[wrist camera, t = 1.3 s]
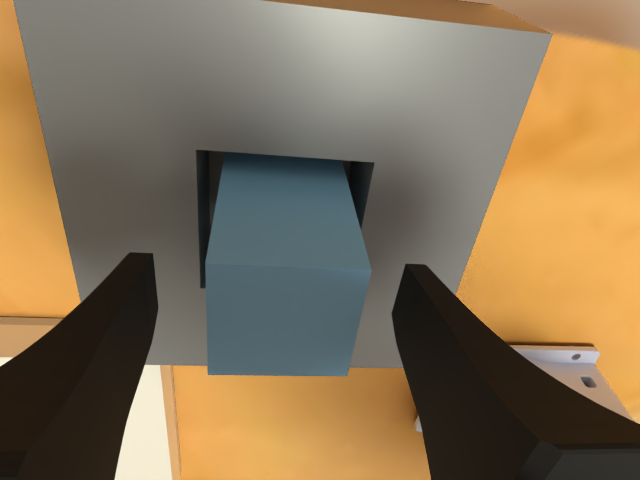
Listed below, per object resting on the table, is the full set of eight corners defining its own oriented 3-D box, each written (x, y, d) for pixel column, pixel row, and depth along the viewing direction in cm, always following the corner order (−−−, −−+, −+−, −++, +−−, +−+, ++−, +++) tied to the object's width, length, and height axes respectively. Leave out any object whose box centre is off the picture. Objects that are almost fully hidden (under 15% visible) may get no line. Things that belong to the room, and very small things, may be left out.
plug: (335, 137, 18) (371, 270, 12) (321, 236, 21) (343, 389, 14) (229, 129, 18) (205, 263, 11) (228, 231, 20) (208, 388, 14)
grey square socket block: (491, 4, 17) (552, 34, 13) (404, 299, 25) (427, 368, 21) (70, -48, 15) (6, -30, 11) (122, 290, 23) (94, 364, 19)
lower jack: (168, 320, 24) (159, 359, 22) (181, 469, 32) (175, 507, 30) (-140, 313, 22) (-181, 354, 20) (-46, 473, 30) (-69, 514, 28)
